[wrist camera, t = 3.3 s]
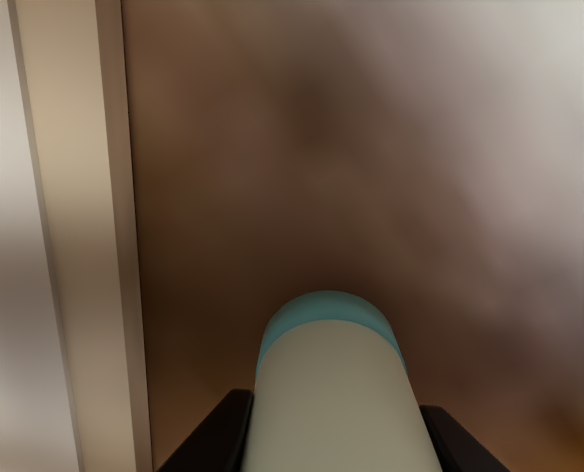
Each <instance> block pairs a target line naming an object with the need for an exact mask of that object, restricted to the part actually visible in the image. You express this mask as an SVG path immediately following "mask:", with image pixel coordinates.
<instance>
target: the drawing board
mask: <svg viewBox="0 0 584 472" xmlns="http://www.w3.org/2000/svg"><path fill="white" fill-rule="evenodd" d="M0 472H153V468H152V454H151V439H150V425H149V410H148V396H147V381H146V366H145V352H144V337H143V323H142V308H141V294H140V279H139V265H138V250H137V235H136V221H135V206H134V192H133V177H132V163H131V148H130V134H129V119H128V104H127V90H126V75H125V61H124V46H123V32H122V17H121V3H120V0H0Z"/></svg>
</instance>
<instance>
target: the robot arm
mask: <svg viewBox="0 0 584 472" xmlns="http://www.w3.org/2000/svg"><path fill="white" fill-rule="evenodd" d="M252 401H253V392H252V391H251V390H247V389H232V390H231V391H230V392H229V393H228V394H227V395H226V396H225V397H224V398H223V399H222V400H221V402H220V403H219V404H218V405H217V406H216V407H215V408H214V409H213V410H212V411H211V412H210V413H209V415H208V416H207V417H206V418H205V419H204V420H203V421H202V422H201V423H200V424H199V425H198V427H197V428H196V429H195V430H194V431H193V432H192V433H191V434H190V435H189V436H188V437H187V438H186V440H185V441H184V442H183V443H182V444H181V445H180V446H179V447H178V448H177V449H176V450H175V451H174V453H173V454H172V455H171V456H170V457H169V458H168V459H167V460H166V461H165V462H164V463H163V465H162V466H161V467H160V468H159V469H158V470H157V471H156V472H238V471H239V466H240V462H241V457H242V452H243V447H244V442H245V437H246V432H247V427H248V422H249V417H250V412H251V406H252ZM419 409H420V412H421V415H422V418H423V420H424V423H425V426H426V428H427V431H428V434H429V436H430V439H431V442H432V444H433V447H434V450H435V452H436V455H437V458H438V460H439V463H440V466H441V468H442V471H443V472H510V471H509V470H508V469H507V468H506V467H505V466H504V465H503V464H502V463H501V462H500V461H499V460H498V459H497V458H495V457H494V456H493V455H492V454H491V453H490V452H489V451H488V450H487V449H486V448H485V447H484V446H483V445H482V444H480V443H479V442H478V441H477V440H476V439H475V438H474V437H473V436H472V435H471V434H470V433H469V432H468V431H467V430H466V429H464V428H463V427H462V426H461V425H460V424H459V423H458V422H457V421H456V420H455V419H454V418H453V417H452V416H451V415H450V414H448V413H447V412H446V411H445V410H444V409H443V408H441V407H439V406H431V405H420V406H419Z"/></svg>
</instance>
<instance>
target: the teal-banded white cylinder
mask: <svg viewBox="0 0 584 472" xmlns="http://www.w3.org/2000/svg"><path fill="white" fill-rule="evenodd" d="M238 472H443V471H442V468H441V466H440V463H439V460H438V458H437V455H436V452H435V450H434V447H433V444H432V442H431V439H430V436H429V434H428V431H427V428H426V426H425V423H424V420H423V418H422V415H421V412H420V409H419V407H418V404H417V401H416V399H415V396H414V393H413V391H412V388H411V385H410V383H409V380H408V377H407V370H406V365H405V362H404V360H403V357H402V355H401V352H400V349H399V347H398V344H397V342H396V339H395V336H394V334H393V331H392V328H391V326H390V324H389V322H388V321H387V319H386V318H385V316H384V315H383V314H382V313H381V312H380V311H379V310H378V309H377V308H376V307H375V306H374V305H372V304H371V303H370V302H368V301H366V300H365V299H363V298H361V297H359V296H356V295H354V294H350V293H347V292H342V291H333V290H324V291H315V292H310V293H306V294H304V295H301V296H298V297H296V298H294V299H292V300H290V301H289V302H287V303H286V304H284V305H283V306H282V307H281V308H280V309H278V310H277V312H276V313H275V314H274V315H273V316H272V318H271V319H270V321H269V322H268V324H267V326H266V328H265V331H264V334H263V338H262V343H261V348H260V353H259V358H258V362H257V367H256V374H255V389H254V394H253V401H252V406H251V412H250V417H249V422H248V427H247V432H246V437H245V442H244V447H243V452H242V457H241V462H240V466H239V471H238Z"/></svg>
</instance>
